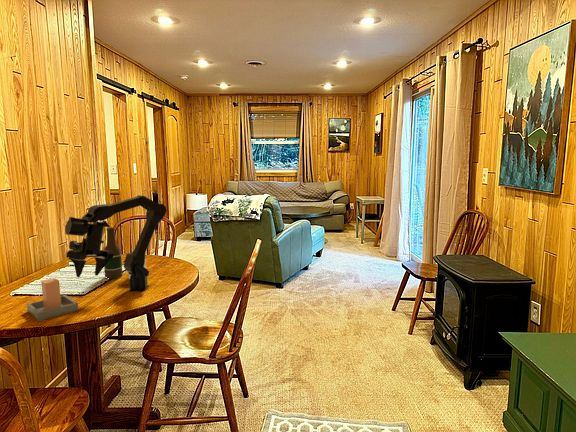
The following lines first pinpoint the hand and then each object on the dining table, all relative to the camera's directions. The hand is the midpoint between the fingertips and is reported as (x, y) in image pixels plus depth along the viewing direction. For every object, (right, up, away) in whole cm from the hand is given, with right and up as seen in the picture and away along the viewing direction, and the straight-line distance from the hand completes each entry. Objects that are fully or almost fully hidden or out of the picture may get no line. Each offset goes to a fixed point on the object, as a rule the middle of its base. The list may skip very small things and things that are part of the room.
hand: (87, 276), depth 156 cm
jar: (+8, -6, +32) cm, 34 cm away
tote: (-9, -12, -8) cm, 17 cm away
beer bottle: (-4, -6, +34) cm, 35 cm away
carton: (-9, -11, -8) cm, 16 cm away
